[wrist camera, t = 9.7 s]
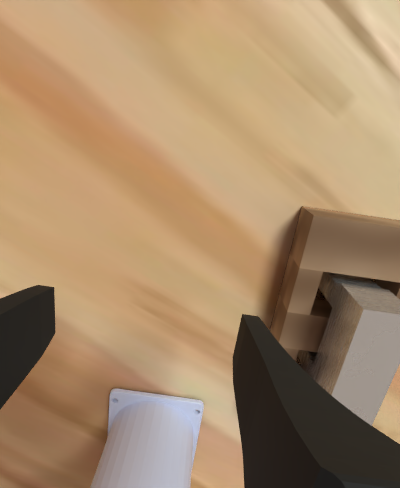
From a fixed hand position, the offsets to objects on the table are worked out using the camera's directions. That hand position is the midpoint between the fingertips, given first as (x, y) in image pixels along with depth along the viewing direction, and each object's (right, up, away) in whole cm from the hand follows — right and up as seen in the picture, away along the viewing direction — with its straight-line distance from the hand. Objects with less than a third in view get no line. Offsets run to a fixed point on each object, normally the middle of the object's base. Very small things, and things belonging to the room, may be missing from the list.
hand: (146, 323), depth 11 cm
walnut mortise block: (+12, -3, +11) cm, 16 cm away
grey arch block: (+12, -2, +11) cm, 16 cm away
